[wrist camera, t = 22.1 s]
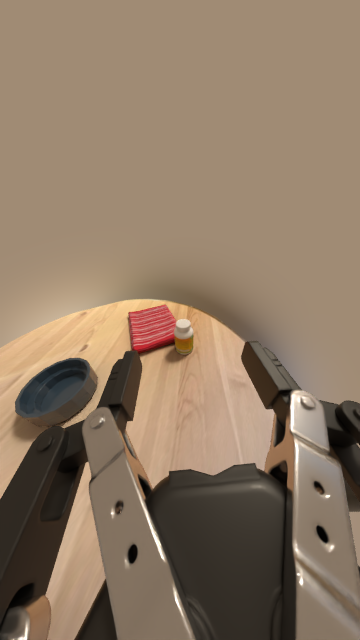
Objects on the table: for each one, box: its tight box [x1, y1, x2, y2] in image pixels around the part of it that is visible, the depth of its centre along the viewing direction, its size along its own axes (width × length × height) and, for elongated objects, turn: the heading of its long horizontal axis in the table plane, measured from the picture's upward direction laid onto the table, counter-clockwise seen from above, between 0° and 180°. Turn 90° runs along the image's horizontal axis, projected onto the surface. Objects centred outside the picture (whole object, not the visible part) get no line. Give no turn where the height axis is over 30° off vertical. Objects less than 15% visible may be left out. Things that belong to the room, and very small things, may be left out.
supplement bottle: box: [174, 319, 193, 355], centre depth 40 cm, size 5×5×10 cm
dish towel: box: [129, 305, 176, 354], centre depth 52 cm, size 17×24×3 cm
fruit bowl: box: [15, 358, 98, 427], centre depth 32 cm, size 13×13×5 cm
